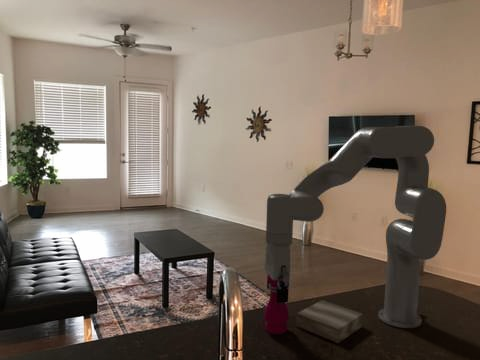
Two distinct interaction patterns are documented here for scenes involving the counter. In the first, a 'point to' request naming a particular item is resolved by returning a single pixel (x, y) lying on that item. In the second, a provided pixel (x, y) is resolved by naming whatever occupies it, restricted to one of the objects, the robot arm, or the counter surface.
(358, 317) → the grey ridged block
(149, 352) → the counter surface
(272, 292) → the pepper mill
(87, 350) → the counter surface
